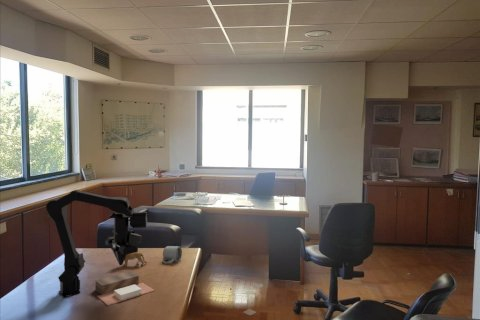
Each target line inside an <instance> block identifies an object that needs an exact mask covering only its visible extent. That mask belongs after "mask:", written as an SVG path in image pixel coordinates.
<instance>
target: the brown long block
mask: <svg viewBox="0 0 480 320" xmlns="http://www.w3.org/2000/svg"><path fill="white" fill-rule="evenodd" d="M139 277H140V276H139V275H138V274H137V273H135V272H134V271H132V270H130V271H126V272H123V273H120V274H119V273H118V274H114V275H111V276H108V277H103V278H99V279H96V280H95V282H94V283H95V292H98V293H99V294H100V295H103V294H106V293H110V292H113V291H114V290H117V289H120V288H124V287H127V286H131V285H134V284H135V285H137V284H140V283H139V281H140V280H139V279H140V278H139Z"/></svg>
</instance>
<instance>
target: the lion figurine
mask: <svg viewBox="0 0 480 320" xmlns="http://www.w3.org/2000/svg"><path fill="white" fill-rule="evenodd" d="M136 259H137V262H135V263H136V265H138V264H140V266H142V267H143V266H144V265H145V264H147V263H148V262H147V261H146V260H145V257H144V255H143V253H142V252H140V251H138V252H136V253H131V254H126V256H125V259H124V263H123V266H124V268H126V267H128V263H129V261H133V260H136Z"/></svg>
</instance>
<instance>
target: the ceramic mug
mask: <svg viewBox="0 0 480 320" xmlns="http://www.w3.org/2000/svg"><path fill="white" fill-rule="evenodd" d="M182 255H183V250H182V247H181V246H177V245H176V246H173V245H172V246H171V245H167V246H165V247H164V249H163V251H162V263H163V264H165V265H170V264H172V263H174V262H178V263H179V262H180V261H181V259H182ZM165 260H166V261H165Z"/></svg>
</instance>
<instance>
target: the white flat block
mask: <svg viewBox="0 0 480 320" xmlns="http://www.w3.org/2000/svg"><path fill="white" fill-rule="evenodd" d="M139 294H142V289H141V288H140V287H138V286H137V285H135V284H134V285H131V286H127V287H124V288H120V289H117V290H114V295H115V296H116V297H117V298H118V299H120V300H123V299H126V298H129V297H133V296H136V295H139Z"/></svg>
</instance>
